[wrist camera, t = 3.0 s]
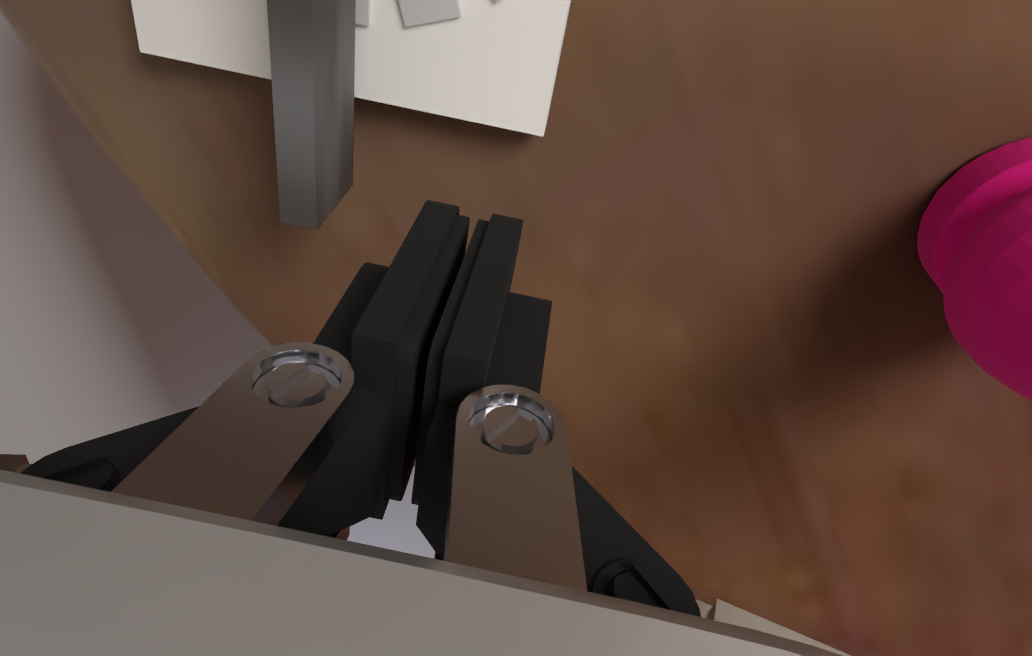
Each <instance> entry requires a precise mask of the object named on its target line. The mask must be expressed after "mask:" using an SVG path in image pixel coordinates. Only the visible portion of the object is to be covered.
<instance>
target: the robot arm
mask: <svg viewBox="0 0 1032 656" xmlns="http://www.w3.org/2000/svg"><path fill="white" fill-rule="evenodd" d="M469 220H470V219H469V217H466V216H461V215H459V207H458V206H454V205H449V204H444V203H440V202H435V201H430V200H427V201H426V202H425V204H424V206H423V208H422V209H421V211H420V213H419V215H418V217H417V218H416V220H415V222H414V224H413V226H412V227H411V229H410V231H409V233H408V235H407V236H406V238H405V240H404V242H403V243H402V245H401V247H400V249H399V251H398V252H397V254H396V256H395V258H394V260H393V261H392V263H391V265H390V267H387V266H382V265H377V264H372V263H364V265H363V266H362V267H361V268H360V270H359V272H358V273H357V275H356V276H355V278H354V279H353V281H352V283H351V284H350V286H349V287H348V289H347V291H346V292H345V294H344V295H343V297H342V299H341V300H340V302H339V303H338V305H337V306H336V308H335V310H334V311H333V313H332V314H331V316H330V318H329V319H328V321H327V322H326V324H325V326H324V327H323V329H322V330H321V332H320V333H319V335H318V337H317V338H316V340H315V341H314V343H313V344H312V343H287V344H281V345H276V346H273V347H270V348H268V349H265V350H263V351H260V352H258V353H257V354H255V355H254V356H253V357H251V358H250V359H248V360H247V361H246V362H245V363H244V364H243V365H242V366H241V367H240V368H239V369H238V370H237V371H236V372H235V373H234V374H232V375H231V376H230V378H228V379H227V380H226V381H225V382H224V383H223V384H222V385H221V386H220V387H219V388H218V389H217V390H216V391H215V392H214V393H213V394H212V395H211V396H210V397H209V398H208V399H207V400H206V401H205V402H203V404H201V405H200V406H199V407H196V408H192V409H189V410H186V411H183V412H179V413H176V414H173V415H170V416H166V417H163V418H160V419H157V420H154V421H150V422H148V423H144V424H141V425H138V426H134V427H132V428H128V429H125V430H122V431H119V432H115V433H112V434H109V435H105V436H102V437H99V438H96V439H93V440H90V441H86V442H83V443H80V444H77V445H74V446H70V447H67V448H64V449H62V450H59V451H57V452H54V453H52V454H50V455H47V456H45V457H43V458H41V459H40V460H38V461H37V462H35V463H34V464H29V462H28V460H27V457H26V455H12V454H0V656H851V655H848V654H846V653H844V652H841V651H839V650H837V649H834V648H832V647H829V646H827V645H825V644H822V643H820V642H818V641H815V640H813V639H811V638H808V637H806V636H804V635H801V634H799V633H796V632H794V631H792V630H789V629H787V628H785V627H782V626H780V625H778V624H775V623H773V622H771V621H768V620H766V619H764V618H761V617H759V616H756V615H754V614H752V613H749V612H747V611H745V610H742V609H740V608H738V607H735V606H733V605H731V604H728V603H726V602H724V601H721V600H719V599H717V600H716V601H715V603H714V604H713V606H710V605H708V604H706V603H703V602H701V601H699V600H696V599H695V597H694V595H693V592H692V591H691V590H690V588H689V587H688V586H687V584H686V583H685V582H684V581H683V579H682V578H681V577H680V575H679V574H678V573H677V572H676V571H675V570H674V569H673V568H672V567H671V566H670V565H669V564H668V563H667V562H666V561H665V560H664V559H663V558H662V557H661V556H660V555H659V554H658V553H657V552H656V551H655V550H654V549H653V548H652V547H651V546H650V545H649V544H648V543H647V542H646V541H645V540H644V539H643V538H642V537H641V536H640V535H639V534H638V533H637V532H636V531H635V530H634V529H633V528H632V527H631V526H630V525H629V524H628V522H627V521H626V520H625V519H624V518H623V517H622V516H621V515H620V514H619V513H618V512H617V511H616V510H615V509H614V508H613V507H612V506H611V505H610V504H609V503H608V502H607V501H606V500H605V499H604V498H603V497H602V496H601V495H600V494H599V493H598V492H597V491H596V490H595V489H594V488H593V487H592V486H591V485H590V484H589V483H588V482H587V481H586V480H585V479H584V478H583V477H582V476H581V475H580V474H579V473H578V472H577V471H576V470H575V469H574V468H573V466H572V465H571V458H570V451H569V443H568V435H567V427H566V424H565V421H564V418H563V415H562V414H561V413H560V411H559V410H558V409H557V407H556V406H555V405H554V404H553V403H552V402H550V401H549V400H548V399H546V398H545V397H544V396H543V395H541V394H540V387H541V379H542V372H543V365H544V357H545V350H546V343H547V335H548V328H549V321H550V313H551V306H552V301H550V300H545V299H540V298H535V297H531V296H526V295H521V294H516V293H511V292H510V288H511V283H512V278H513V273H514V267H515V262H516V257H517V252H518V247H519V242H520V237H521V231H522V226H523V220H521V219H516V218H511V217H507V216H502V215H497V214H492V216H491V219H490V221H485V220H480V219H479V220H478V222H477V225H476V227H475V230H474V233H473V235H472V238H471V241H470V243H469V246H468V249H467V251H466V244H467V237H468V230H469ZM465 251H466V254H465ZM415 460H416V465H415V474H414V483H413V492H412V504H416V505H418V513H417V521H416V525H417V527H418V528H419V529H420V531H421V532H422V533H423V535H424V536H425V538H426V539H427V540H428V542H429V543H430V545H431V546H432V547H433V549H434V550H435V556H434V559H432V558H428V557H422V556H418V555H413V554H408V553H403V552H399V551H394V550H389V549H384V548H380V547H375V546H370V545H365V544H360V543H356V542H351V541H347V539H348V537H349V533H350V526H352V525H354V524H356V523H358V522H360V521H362V520H364V519H367V518H369V517H371V518H376V519H381V520H382V519H383V516H384V513H385V510H386V507H387V504H388V502H389V499H392V500H397V501H401V500H402V498H403V496H404V493H405V490H406V487H407V484H408V481H409V478H410V475H411V472H412V469H413V466H414V463H415Z"/></svg>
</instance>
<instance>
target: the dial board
mask: <svg viewBox="0 0 1032 656" xmlns="http://www.w3.org/2000/svg"><path fill="white" fill-rule="evenodd" d="M131 3H132V9H133V15H134V20H135V26H136V32H137V38H138V43H139V49H140V52H142V53H147V54H152V55H157V56H161V57H166V58H171V59H176V60H180V61H185V62H190V63H195V64H200V65H204V66H209V67H214V68H219V69H223V70H228V71H233V72H238V73H242V74H247V75H252V76H257V77H261V78H266V79H271V63H270V47H269V30H268V13H267V0H131ZM570 4H571V0H356V9H355V75H354V97H357V98H361V99H366V100H371V101H376V102H380V103H385V104H390V105H395V106H400V107H404V108H409V109H414V110H419V111H423V112H428V113H433V114H438V115H442V116H447V117H452V118H457V119H461V120H466V121H471V122H476V123H480V124H485V125H490V126H495V127H500V128H504V129H509V130H514V131H519V132H523V133H528V134H533V135H538V136H542V137H543V136H544V132H545V128H546V124H547V120H548V115H549V110H550V105H551V100H552V95H553V90H554V85H555V80H556V75H557V70H558V64H559V59H560V54H561V49H562V44H563V39H564V34H565V29H566V24H567V19H568V14H569V9H570Z"/></svg>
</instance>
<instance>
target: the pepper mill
mask: <svg viewBox="0 0 1032 656" xmlns="http://www.w3.org/2000/svg"><path fill="white" fill-rule="evenodd" d="M917 250H918V255H919V258H920V261H921V263H922V265H923V267H924V269H925V270H926V272H927V273H928V274H929V276H930V277H931V279H932V280H933V281H934V283H935V284H936V285H937V287H938V288H939V289H940V291H941V292H942V293H943V294H944V300H943V306H944V311H945V316H946V321H947V323H948V325H949V328H950V330H951V332H952V334H953V336H954V338H955V339H956V340H957V342H958V343H959V344H960V346H961V347H962V348H963V349H964V350H965V351H966V352H967V353H968V354H969V356H970V357H971V358H972V359H973V360H974V361H975V362H976V363H977V364H978V365H979V366H980V367H981V368H982V369H983V370H984V371H986V372H987V373H988V374H989V375H991V376H992V377H994V378H995V379H997V380H998V381H999V382H1001V383H1002V384H1004V385H1005V386H1007V387H1008V388H1010V389H1011V390H1013V391H1015V392H1016V393H1018V394H1020V395H1022V396H1023V397H1025V398H1028V399H1030V400H1032V138H1027V139H1023V140H1019V141H1016V142H1012V143H1008V144H1005V145H1003V146H1001V147H998V148H996V149H994V150H992V151H989V152H987V153H985V154H983V155H981V156H980V157H978V158H976V159H975V160H973V161H971V162H970V163H968V164H967V165H965V166H963V167H962V168H960V169H959V170H958V171H957V172H956V173H955V174H954V175H953V176H952V177H951V178H950V179H949V180H948V181H947V182H946V183H945V184H944V185H943V186H942V187H941V188H940V189H939V190H938V191H937V192H936V194H935V195H934V197H933V199H932V200H931V202H930V204H929V205H928V207H927V209H926V210H925V212H924V214H923V216H922V219H921V222H920V226H919V229H918V236H917Z"/></svg>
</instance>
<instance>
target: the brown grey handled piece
mask: <svg viewBox="0 0 1032 656" xmlns="http://www.w3.org/2000/svg"><path fill="white" fill-rule="evenodd" d="M355 9H356V0H267V13H268V30H269V47H270V63H271V80H272V97H273V113H274V130H275V146H276V163H277V180H278V196H279V213H280V222H282V223H286V224H291V225H296V226H301V227H305V228H310V229H315V230H317V229H318V228H319V227H320V226H321V224H322V223H323V222H324V220H325V219H326V218H327V217H328V215H329V214H330V213H331V212H332V210H333V209H334V208H335V207H336V205H337V204H338V203H339V202H340V200H341V199H342V198H343V197H344V195H345V194H346V193H347V192H348V190H349V189H350V188H351V187H352V185H353V141H354V75H355Z"/></svg>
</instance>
